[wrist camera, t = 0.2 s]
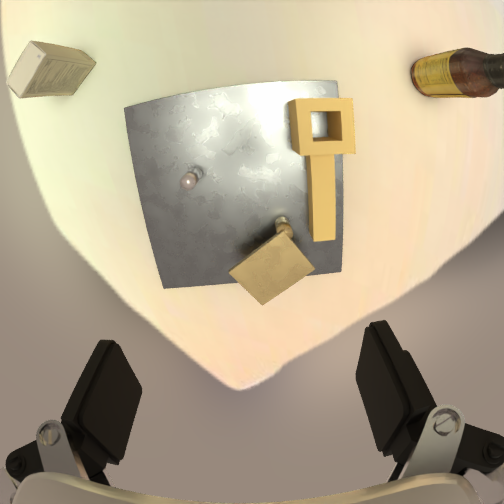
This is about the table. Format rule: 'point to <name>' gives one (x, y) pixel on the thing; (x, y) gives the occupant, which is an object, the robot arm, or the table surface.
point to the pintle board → (231, 187)
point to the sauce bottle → (459, 74)
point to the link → (322, 156)
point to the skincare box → (48, 70)
